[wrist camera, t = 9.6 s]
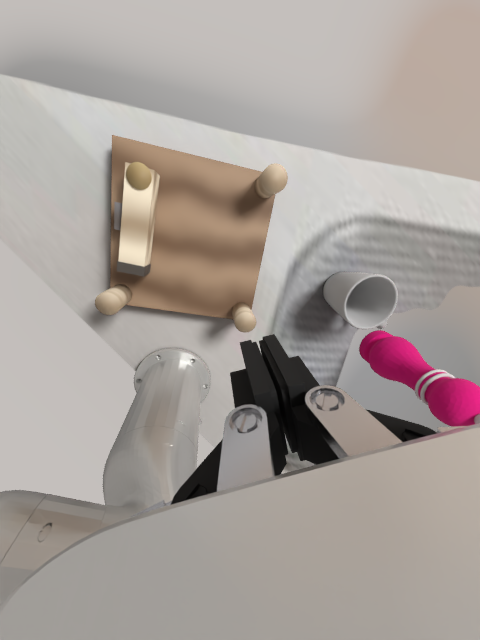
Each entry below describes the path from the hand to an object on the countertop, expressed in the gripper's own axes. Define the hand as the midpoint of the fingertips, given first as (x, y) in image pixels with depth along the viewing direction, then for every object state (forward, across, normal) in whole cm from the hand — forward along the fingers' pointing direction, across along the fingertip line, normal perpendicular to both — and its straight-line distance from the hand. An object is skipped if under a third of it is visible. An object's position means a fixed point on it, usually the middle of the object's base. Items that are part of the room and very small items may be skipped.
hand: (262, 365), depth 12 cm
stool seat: (+27, +4, -6) cm, 28 cm away
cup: (+27, -18, +8) cm, 34 cm away
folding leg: (+24, +9, -9) cm, 28 cm away
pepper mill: (+27, -24, +19) cm, 41 cm away
